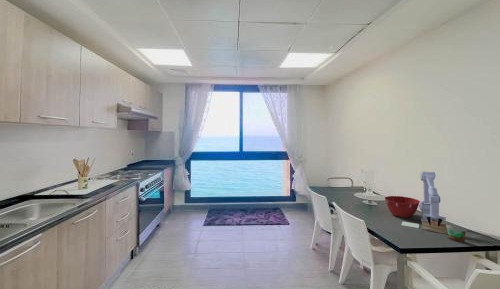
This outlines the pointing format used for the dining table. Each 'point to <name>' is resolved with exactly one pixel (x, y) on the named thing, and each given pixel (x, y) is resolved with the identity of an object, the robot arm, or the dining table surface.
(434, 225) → the block
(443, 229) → the crate
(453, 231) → the food container
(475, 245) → the dining table surface
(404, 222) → the mat
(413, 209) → the mixing bowl
